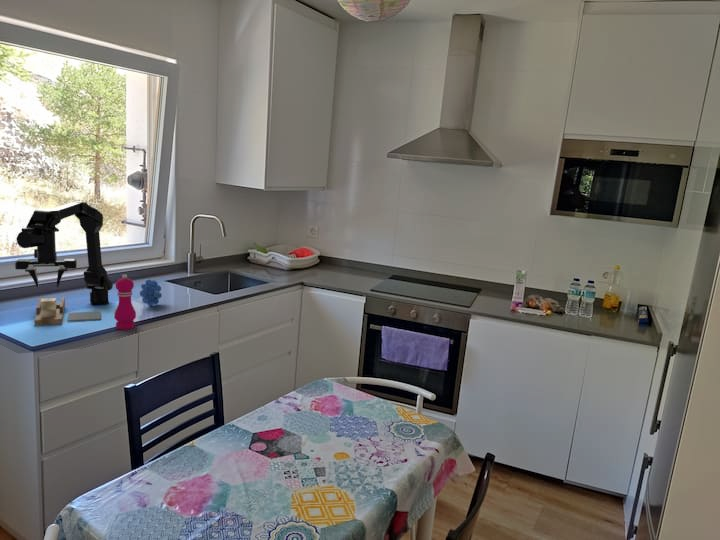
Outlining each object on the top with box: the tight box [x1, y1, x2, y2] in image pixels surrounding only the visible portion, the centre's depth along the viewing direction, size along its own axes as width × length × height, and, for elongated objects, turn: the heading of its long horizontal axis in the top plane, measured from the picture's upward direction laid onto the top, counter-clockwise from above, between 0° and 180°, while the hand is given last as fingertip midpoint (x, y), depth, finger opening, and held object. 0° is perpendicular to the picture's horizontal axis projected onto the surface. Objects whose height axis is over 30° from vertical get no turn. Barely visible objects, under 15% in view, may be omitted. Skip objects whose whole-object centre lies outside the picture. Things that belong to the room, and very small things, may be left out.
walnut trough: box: [33, 296, 66, 326], centre depth 197 cm, size 8×24×4 cm, turn 27°
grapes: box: [139, 279, 163, 307], centre depth 219 cm, size 12×7×12 cm, turn 158°
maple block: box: [41, 297, 57, 318], centre depth 190 cm, size 4×4×6 cm
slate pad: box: [67, 310, 102, 323], centre depth 199 cm, size 11×11×1 cm
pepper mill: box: [113, 273, 137, 330], centre depth 188 cm, size 7×7×20 cm
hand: (47, 287), depth 188 cm, fingers open, 6 cm apart
